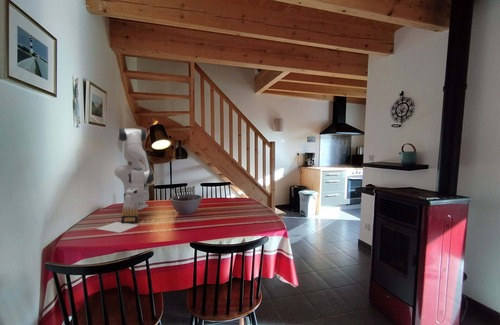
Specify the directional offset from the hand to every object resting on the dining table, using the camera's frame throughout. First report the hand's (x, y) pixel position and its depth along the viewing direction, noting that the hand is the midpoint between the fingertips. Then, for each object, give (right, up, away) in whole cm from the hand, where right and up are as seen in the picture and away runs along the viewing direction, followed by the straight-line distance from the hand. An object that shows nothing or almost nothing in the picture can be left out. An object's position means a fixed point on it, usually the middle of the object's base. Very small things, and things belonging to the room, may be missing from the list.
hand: (137, 208), depth 179 cm
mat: (-6, -10, -16) cm, 20 cm away
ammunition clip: (-3, -10, -7) cm, 12 cm away
